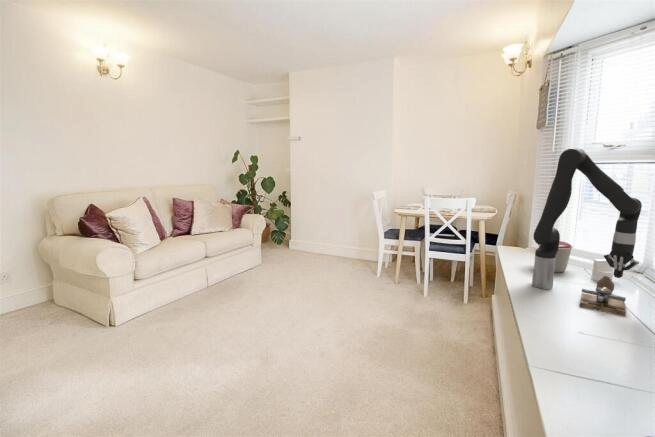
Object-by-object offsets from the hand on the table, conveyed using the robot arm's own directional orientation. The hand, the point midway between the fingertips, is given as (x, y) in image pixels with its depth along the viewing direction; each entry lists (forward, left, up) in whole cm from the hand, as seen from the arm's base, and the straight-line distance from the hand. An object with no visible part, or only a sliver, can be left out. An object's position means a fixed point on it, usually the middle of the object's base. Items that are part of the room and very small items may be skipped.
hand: (617, 277), depth 149 cm
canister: (-29, +43, -14) cm, 54 cm away
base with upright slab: (-5, +38, -14) cm, 41 cm away
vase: (-4, +16, -14) cm, 22 cm away
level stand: (-5, -4, -14) cm, 15 cm away
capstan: (-5, -4, -12) cm, 13 cm away
